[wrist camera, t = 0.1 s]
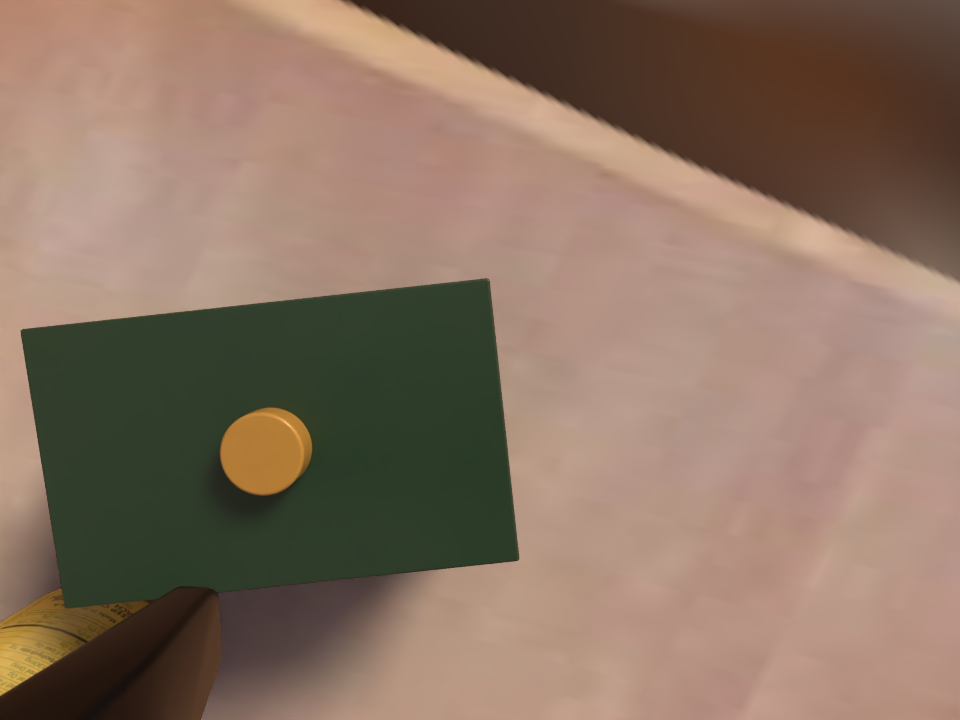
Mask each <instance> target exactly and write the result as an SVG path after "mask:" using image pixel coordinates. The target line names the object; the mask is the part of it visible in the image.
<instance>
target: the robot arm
mask: <svg viewBox="0 0 960 720" xmlns="http://www.w3.org/2000/svg"><path fill="white" fill-rule="evenodd" d="M221 654H222V637H221V624H220V611H219V599H218V595H217V593H216V591H215V590H214V589H213V588H211V587H198V586H179V587H176V588H174V589H172V590H171V591H169V592H168V593H166V594H164V595H163V596H161V597H159V598H158V599H156V600H155V601H153V602H151V603H150V604H148V605H146V606H145V607H143V608H142V609H140V610H138V611H137V612H135V613H134V614H132V615H130V616H129V617H127V618H125V619H124V620H122V621H121V622H119V623H117V624H116V625H114V626H112V627H111V628H109V629H108V630H106V631H104V632H103V633H101V634H99V635H98V636H96V637H95V638H93V639H91V640H90V641H88V642H87V643H85V644H83V645H82V646H80V647H78V648H77V649H75V650H74V651H72V652H70V653H69V654H67V655H65V656H64V657H62V658H61V659H59V660H57V661H56V662H54V663H52V664H51V665H49V666H48V667H46V668H44V669H43V670H41V671H40V672H38V673H36V674H35V675H33V676H31V677H30V678H28V679H27V680H25V681H23V682H22V683H20V684H18V685H17V686H15V687H14V688H12V689H10V690H9V691H7V692H5V693H4V694H2V695H1V696H0V720H201V717H202V714H203V711H204V709H205V706H206V703H207V700H208V697H209V694H210V691H211V688H212V686H213V683H214V680H215V677H216V674H217V671H218V668H219V665H220V660H221Z"/></svg>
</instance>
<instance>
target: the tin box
mask: <svg viewBox="0 0 960 720" xmlns="http://www.w3.org/2000/svg"><path fill="white" fill-rule="evenodd" d="M21 337H22V343H23V350H24V356H25V362H26V369H27V375H28V381H29V387H30V394H31V400H32V406H33V412H34V419H35V425H36V431H37V438H38V444H39V450H40V456H41V463H42V469H43V475H44V481H45V488H46V494H47V500H48V507H49V513H50V519H51V525H52V532H53V538H54V544H55V550H56V557H57V563H58V569H59V576H60V582H61V588H62V594H63V601H64V607H65V609H70V608H79V607H89V606H98V605H107V604H117V603H126V602H136V601H145V600H154V599H158V598H159V597H161V596H163V595H164V594H166V593H168V592H169V591H171V590H172V589H174V588H176V587H179V586H198V587H211V588H213V589H214V590H215V591H216V593H220V592H230V591H239V590H248V589H258V588H267V587H277V586H286V585H295V584H305V583H314V582H324V581H333V580H343V579H352V578H361V577H371V576H380V575H390V574H399V573H408V572H418V571H427V570H437V569H446V568H455V567H465V566H474V565H484V564H493V563H502V562H512V561H518V560H519V551H518V542H517V533H516V523H515V514H514V505H513V495H512V486H511V477H510V467H509V458H508V449H507V439H506V430H505V420H504V411H503V402H502V392H501V383H500V374H499V364H498V355H497V346H496V336H495V327H494V318H493V308H492V299H491V290H490V281H489V279H487V278H486V279H477V280H468V281H459V282H450V283H441V284H432V285H422V286H413V287H404V288H395V289H386V290H377V291H368V292H358V293H349V294H340V295H331V296H322V297H313V298H303V299H294V300H285V301H276V302H267V303H258V304H249V305H239V306H230V307H221V308H212V309H203V310H194V311H185V312H175V313H166V314H157V315H148V316H139V317H130V318H120V319H111V320H102V321H93V322H84V323H75V324H66V325H56V326H47V327H38V328H29V329H23V330H21Z"/></svg>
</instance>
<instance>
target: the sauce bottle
mask: <svg viewBox="0 0 960 720" xmlns="http://www.w3.org/2000/svg"><path fill="white" fill-rule="evenodd" d="M155 600H156V599H154V600H145V601H136V602H126V603H117V604H107V605H98V606H89V607H79V608H70V609H65V607H64V601H63V594H62V588H61V589H58V590H55V591H53V592H50V593H48V594H46V595H44V596H42V597H41V598H39V599H37V600H36V601H34V602H32V603H31V604H29V605H28V606H26V607H24V608H23V609H21V610H19V611H18V612H16V613H15V614H13V615H11V616H10V617H8V618H6V619H5V620H3V621H2V622H0V696H1V695H2V694H4V693H5V692H7V691H9V690H10V689H12V688H14V687H15V686H17V685H18V684H20V683H22V682H23V681H25V680H27V679H28V678H30V677H31V676H33V675H35V674H36V673H38V672H40V671H41V670H43V669H44V668H46V667H48V666H49V665H51V664H52V663H54V662H56V661H57V660H59V659H61V658H62V657H64V656H65V655H67V654H69V653H70V652H72V651H74V650H75V649H77V648H78V647H80V646H82V645H83V644H85V643H87V642H88V641H90V640H91V639H93V638H95V637H96V636H98V635H99V634H101V633H103V632H104V631H106V630H108V629H109V628H111V627H112V626H114V625H116V624H117V623H119V622H121V621H122V620H124V619H125V618H127V617H129V616H130V615H132V614H134V613H135V612H137V611H138V610H140V609H142V608H143V607H145V606H146V605H148V604H150V603H151V602H153V601H155Z"/></svg>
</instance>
